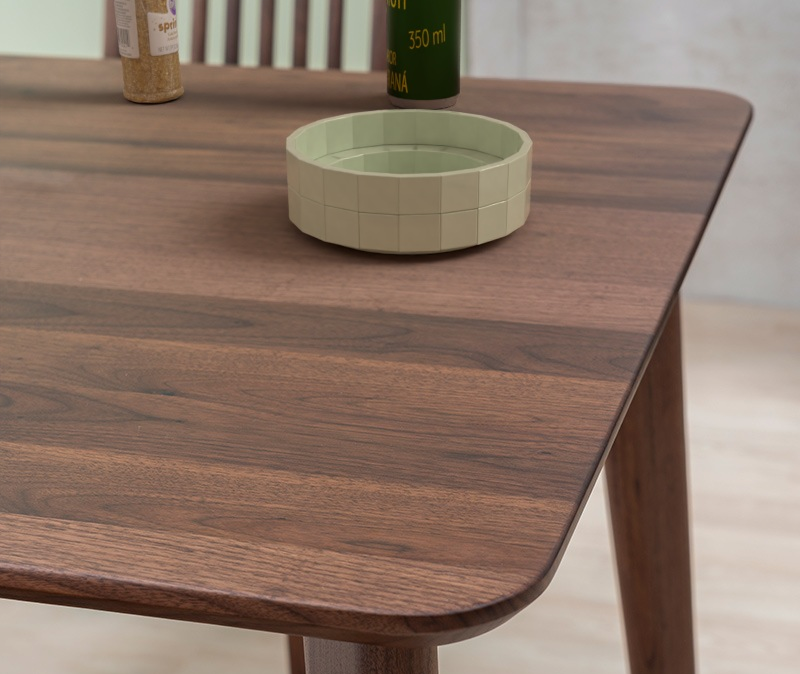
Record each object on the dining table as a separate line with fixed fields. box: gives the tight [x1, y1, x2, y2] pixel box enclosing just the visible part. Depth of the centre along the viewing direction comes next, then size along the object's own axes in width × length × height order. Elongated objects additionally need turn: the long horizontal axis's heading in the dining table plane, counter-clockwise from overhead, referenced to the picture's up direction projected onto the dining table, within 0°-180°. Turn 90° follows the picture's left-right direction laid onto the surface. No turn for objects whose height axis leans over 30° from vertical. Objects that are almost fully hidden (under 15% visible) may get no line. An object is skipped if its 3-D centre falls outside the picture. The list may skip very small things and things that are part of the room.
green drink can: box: [385, 0, 462, 110], centre depth 90 cm, size 5×5×12 cm
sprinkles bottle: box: [113, 0, 185, 104], centre depth 91 cm, size 5×5×13 cm
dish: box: [285, 108, 534, 255], centre depth 68 cm, size 13×13×4 cm
